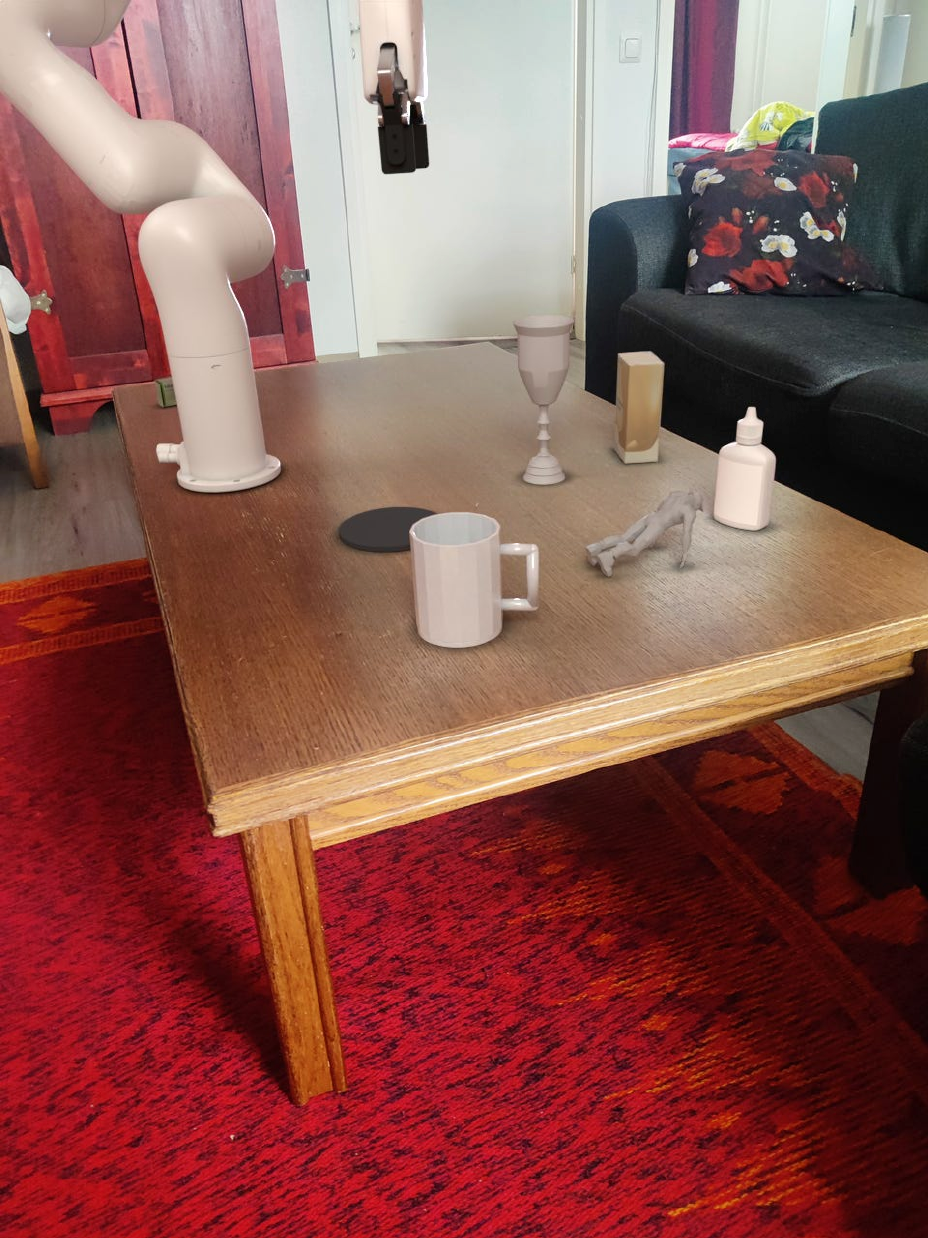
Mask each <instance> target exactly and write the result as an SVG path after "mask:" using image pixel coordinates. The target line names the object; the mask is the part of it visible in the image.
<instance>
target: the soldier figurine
mask: <svg viewBox="0 0 928 1238" xmlns="http://www.w3.org/2000/svg"><path fill="white" fill-rule="evenodd" d="M704 501H705V499H704V496H703V494H702V493H701V492H700V491H698V490H690V491H689V492H688V493H687V492H685V491H683V490H675V491H671V492H669V494H668V496H666V497H665V498H664V499H663V500H662V501H661V502H660V504H658V507H657V510H655V511H654V512H651V513H648V514H647V515H644V516H643V517H642V518H640V519H639V520H637V521H636V522H635V523H634V524H632V525H631V526H630V527H629V528H628V529H627V530H626V531H625V532H624V533H623V534H622V535H618V534H612V535H608V536H606V537H605V538H604V539H603V540H599V541H597V542H595V543H592V544H589V545H587V546H585V547H584V548H585V552H586V559H587V560H588V562H589V563H590V565H592V566H593V567H595V566H597V564H598V563H599V565H600V571H602V573H603V574H604V576H606V577H608V578H610V577H611V576H612V575H613V569H612V568H613V565H614V562H615V560H616V559H619V558H620V557H625V556H627V557H637V556H638V554H639V553H640V552H641V551H642V550H644V549H648V548H653V546H654V545H656V544H657V541H658V539H659V538H661V536H662V535H665V532H666V531H667V530H668V529H670V528H672V527H675V526H679V525H682V533H681V535H680V544H681V551H682V554H681V557H680V558H679V562H681V563H680V565H679V569H682V568H683V566H685V563H686V562H687V561H688V560H687V559H688V552H689V550H690V548H691V544H692V532H693V525H694V522H695V520H696V518H697V513H696V512H697V511H700V512H704ZM607 550H608V551H607Z"/></svg>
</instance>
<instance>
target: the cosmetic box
mask: <svg viewBox="0 0 928 1238" xmlns="http://www.w3.org/2000/svg"><path fill="white" fill-rule="evenodd" d="M616 369H617V372H616V393H615V417H614V420H615V421H614V438H613V439H614V440H613V449H614V451H615V453H616V454H617V455H618V457H619V459H620V460H621V461H622V462H623V464H625V465H626V464H642V463H657V462H659V452H660V438H661V436H660V435H661V422H662V409H663V393H664V378H665V377H664V376H665V362H664V361H662V359H661V358H659V357H658V356H657V354H655V353H654V352H652V351H634V352H622V353H621V352H620V353H617V368H616Z"/></svg>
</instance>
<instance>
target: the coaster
mask: <svg viewBox="0 0 928 1238" xmlns="http://www.w3.org/2000/svg"><path fill="white" fill-rule="evenodd" d="M436 514H438V513H437V512H436V511H433V510H431V509H426V508H421V507H415V506H387V507H379V508H373V509H369V510H366V511H362V512H360V513H357V514H354V515H352V516H350V517H348V518H347V519H345V520H344V521H343V522H342V523H341V524H340V526H339V527H338V535H339V539H340V541H341V542H342V544H345V545H346V546H348V547H350V548H353V549H355V550H360V551H364V552H372V553H394V552H404V551H411V547H410V534H409V531H410V529H411V527H412V525H413V524H415V523H416V522H418V521H419V520H421V519H423V518H426V517H429V516H432V515H436Z"/></svg>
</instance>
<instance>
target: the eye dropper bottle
mask: <svg viewBox="0 0 928 1238" xmlns="http://www.w3.org/2000/svg"><path fill="white" fill-rule="evenodd" d="M763 429H764V421H762V419H759V418H758V417H757V410H756V407H755V406H749V407H748V408H747V410H746V414H745V416H744V418H742V419H738V421H737V423H736V433H735V434H736V436H735V441H733V442H730V443H728V444H726V445H724V446H722V447H721V449H720V450H719V452H718V459H717V469H716V478H715V479H716V480H715V492H714V503H713V518H714V520H715V521H717V522H718V523H721V524H722V525H724V526H728V527H730V528H734V529H738V530H743V531H751V532H753V531H754V532H756V531H760V530H762V529H764V528H766V527H767V526H768V525H769V524H770V520H771V512H772V502H773V494H774V484H775V474H776V466H777V465H776V464H777V458H776V455H775V453H774V452H773V451H772V450H770V449H769V448H768V447H767V446H765V445H763V444H762V439H763Z"/></svg>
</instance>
